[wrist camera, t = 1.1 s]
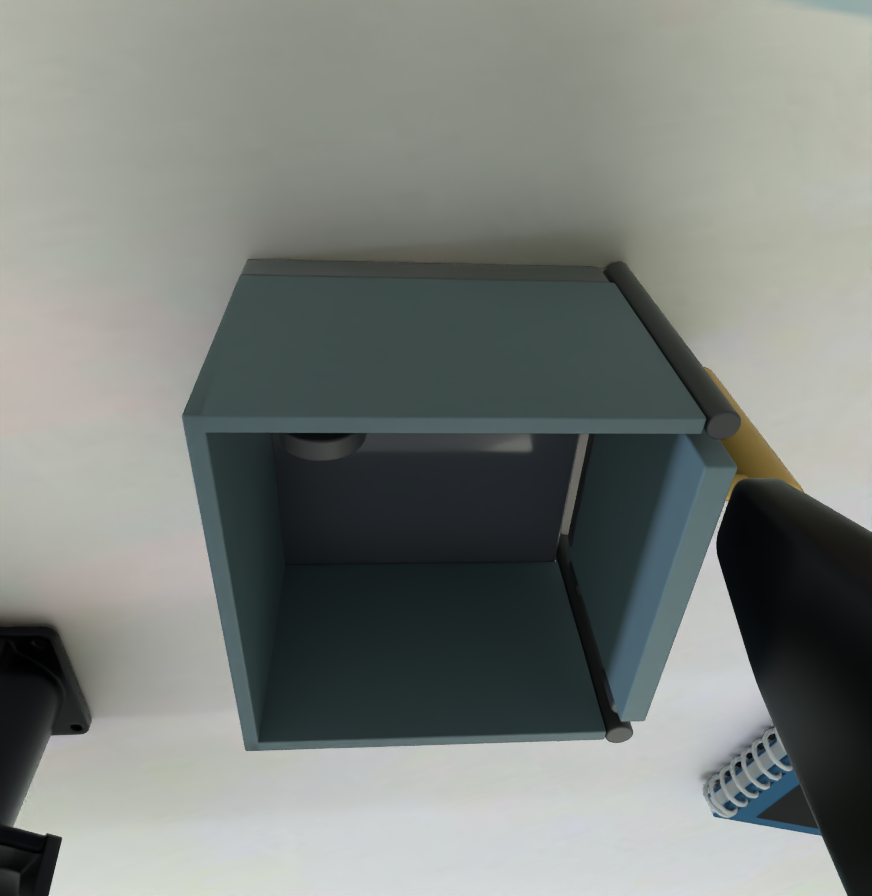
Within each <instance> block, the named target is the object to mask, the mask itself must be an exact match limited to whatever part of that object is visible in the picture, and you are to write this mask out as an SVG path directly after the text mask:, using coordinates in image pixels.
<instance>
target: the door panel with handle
mask: <svg viewBox="0 0 872 896" xmlns="http://www.w3.org/2000/svg"><path fill="white" fill-rule="evenodd" d="M703 368H704V369H705V370H706V372H707V373H708V374H709V376H710V377H711V378H712V380H713V381H714V382H715V384H716V385H717V386H718V388H719V389H720V390H721V392H722V393H723V394H724V396H725V397H726V398H727V400H728V401H729V402H730V403H731V405H732V406H733V407H734V409H735V410H736V411H737V413H738V414H739V416H740V418H741V425H740V428H739V430H738V431H737V432H736V433H735V434H734V435H733V436H731V437H729V438H727V439H724V440H716V439H713V438H711V437H709V436H708V435H707V433H706V432H705V430H704V429H703V431H702V433H701V434H589V438H588V443H587V447H586V452H585V457H584V462H583V467H582V471H581V476H580V481H579V486H578V491H577V495H576V500H575V505H574V510H573V515H572V519H571V524H570V529H569V534H568V545H567V549H568V552H569V555H570V559H571V561H570V562H569V570H570V574H571V577H572V580H573V584H574V587H575V590H576V592H577V593H578V594H579V595H582V598H583V601H584V604H585V607H586V611H587V614H588V617H589V620H590V624H591V627H592V630H593V633H594V637H595V640H596V643H597V646H598V650H599V653H600V656H601V659H602V663H603V666H604V668H603V669H602V670H601V677H602V680H603V684H604V687H605V690H606V694H607V697H608V700H609V704H610V707H611V709H612V710H613V711H614V712H615V713H618V715H619V718H620V721H622V722H625V721H644V720H645V718H646V716H647V713H648V710H649V708H650V705H651V702H652V699H653V697H654V694H655V691H656V688H657V686H658V683H659V680H660V678H661V675H662V672H663V669H664V667H665V664H666V661H667V658H668V656H669V653H670V650H671V648H672V645H673V642H674V639H675V637H676V634H677V631H678V628H679V626H680V623H681V620H682V618H683V615H684V612H685V609H686V607H687V604H688V601H689V598H690V596H691V593H692V590H693V588H694V585H695V582H696V579H697V577H698V574H699V571H700V568H701V566H702V563H703V560H704V558H705V555H706V552H707V549H708V547H709V544H710V541H711V538H712V536H713V533H714V530H715V528H716V525H717V522H718V519H719V517H720V514H721V511H722V508H723V506H724V503H725V501H729V499H730V496H731V493H732V490H733V488H734V486H735V485H736V484H737V482H739V481H740V480H743V479H747V478H777V479H781V480H783V481H785V482H786V483H788V484H790V485H791V486H793V487H795V488H797V489H798V490H800V491H802V492H803V493H804V491H803V489H802V488H801V486H800V485H799V484H798V482H797V481H796V480H795V479H794V477H793V476H792V475H791V473H790V472H789V471H788V469H787V468H786V467H785V466H784V464H783V463H782V462H781V460H780V459H779V458H778V456H777V455H776V454H775V452H774V451H773V450H772V449H771V447H770V446H769V445H768V443H767V442H766V441H765V439H764V438H763V437H762V436H761V434H760V433H759V432H758V430H757V429H756V428H755V426H754V425H753V424H752V422H751V421H750V420H749V419H748V417H747V416H746V415H745V413H744V412H743V411H742V409H741V408H740V407H739V406H738V404H737V403H736V402H735V400H734V399H733V398H732V396H731V395H730V394H729V392H728V391H727V390H726V389H725V387H724V386H723V385H722V383H721V382H720V381H719V379H718V378H717V377H716V376H715V374H714V373H713V372H712V371H711V370H710V369H708V368H706V367H703Z"/></svg>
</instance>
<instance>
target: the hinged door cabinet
mask: <svg viewBox="0 0 872 896" xmlns="http://www.w3.org/2000/svg"><path fill="white" fill-rule="evenodd" d="M605 276H606V277H607V279H608V280H609V282H610V283H595V282H545V281H494V280H443V279H393V278H342V277H291V276H240V277H239V279H238V281H237V284H236V286H235V289H234V291H233V294H232V296H231V298H230V301H229V303H228V306H227V308H226V311H225V313H224V315H223V318H222V320H221V323H220V325H219V327H218V330H217V332H216V335H215V337H214V340H213V342H212V344H211V347H210V349H209V352H208V354H207V357H206V359H205V361H204V364H203V366H202V369H201V371H200V374H199V376H198V378H197V381H196V383H195V386H194V388H193V391H192V393H191V395H190V398H189V400H188V403H187V405H186V408H185V410H184V412H183V415H182V420H183V425H184V430H185V435H186V441H187V446H188V451H189V456H190V462H191V467H192V472H193V477H194V483H195V488H196V493H197V498H198V504H199V509H200V514H201V519H202V525H203V530H204V535H205V540H206V546H207V551H208V556H209V561H210V567H211V572H212V577H213V582H214V588H215V593H216V598H217V603H218V609H219V614H220V619H221V624H222V630H223V635H224V640H225V645H226V651H227V656H228V661H229V666H230V672H231V677H232V682H233V687H234V693H235V698H236V703H237V708H238V714H239V719H240V724H241V729H242V735H243V740H244V745H245V750H246V751H262V750H292V749H323V748H354V747H385V746H415V745H446V744H477V743H508V742H538V741H569V740H600V739H604V738H606V739H607V740H608V741H609V742H613V743H620V742H624V741H626V740H628V739H630V738H631V737H632V735H633V730H632V726H631V723H630V721H625V722H622V721H620V718H619V715H618V713H615V712H614V711H613V710H612V709H611V707H610V704H609V700H608V697H607V694H606V690H605V687H604V684H603V680H602V677H601V670H602V669H603V668H604V666H603V663H602V659H601V656H600V653H599V650H598V646H597V643H596V640H595V637H594V633H593V630H592V627H591V624H590V620H589V617H588V614H587V611H586V607H585V604H584V601H583V598H582V595H579V594H578V593H577V592H576V590H575V587H574V584H573V580H572V577H571V574H570V570H569V562H570V561H571V559H570V555H569V552H568V549H567V545H568V536H567V535H560V537H559V542H558V547H557V552H556V557H555V561H556V562H498V563H415V564H333V565H285V559H284V549H283V540H282V531H281V521H280V512H279V502H278V493H277V483H276V474H275V464H274V455H273V445H272V436H271V433H279V440H280V443H281V444H282V446H283V447H284V449H285V450H286V451H288V452H289V453H290V454H292V455H294V456H296V457H299V458H302V459H306V460H313V461H328V460H335V459H339V458H343V457H345V456H348V455H350V454H352V453H354V452H355V451H357V450H358V449H359V448H360V447H361V446H362V445H363V443H364V441H365V439H366V434H367V433H578V434H701V433H702V431H703V429H704V430H705V432H706V433H707V435H708V436H709V437H711V438H713V439H716V440H724V439H727V438H729V437H731V436H733V435H734V434H735V433H736V432H737V431H738V430H739V428H740V425H741V418H740V416H739V414H738V413H737V411H736V410H735V409H734V407H733V406H732V405H731V403H730V402H729V401H728V400H727V398H726V397H725V396H724V394H723V393H722V392H721V390H720V389H719V388H718V386H717V385H716V384H715V382H714V381H713V380H712V378H711V377H710V376H709V374H708V373H707V372H706V370H705V369H704V368H703V366H702V365H701V364H700V362H699V361H698V360H697V358H696V357H695V356H694V354H693V353H692V352H691V350H690V349H689V348H688V346H687V345H686V344H685V342H684V341H683V340H682V338H681V337H680V336H679V334H678V333H677V332H676V330H675V329H674V328H673V326H672V325H671V324H670V322H669V321H668V320H667V318H666V317H665V316H664V314H663V313H662V312H661V310H660V309H659V308H658V307H657V305H656V304H655V303H654V301H653V300H652V299H651V297H650V296H649V295H648V293H647V292H646V291H645V289H644V288H643V287H642V285H641V284H640V283H639V281H638V280H637V279H636V277H635V276H634V275H633V273H632V272H631V271H630V269H629V268H628V267H627V265H626V264H625V263H623V262H614V263H612V264H610V265H609V266H608V267H607V268H606V270H605Z"/></svg>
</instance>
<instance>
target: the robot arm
mask: <svg viewBox="0 0 872 896" xmlns="http://www.w3.org/2000/svg"><path fill="white" fill-rule="evenodd" d="M716 548H717V555H718V559H719V563H720V566H721V569H722V573H723V576H724V579H725V582H726V586H727V589H728V592H729V596H730V599H731V602H732V606H733V609H734V612H735V615H736V619H737V622H738V625H739V629H740V632H741V635H742V638H743V642H744V645H745V648H746V652H747V655H748V658H749V661H750V664H751V667H752V670H753V673H754V676H755V679H756V682H757V685H758V687H759V690H760V692H761V695H762V697H763V700H764V702H765V704H766V707H767V709H768V711H769V714H770V716H771V718H772V721H773V723H774V725H775V728H776V730H777V732H778V735H779V737H780V739H781V742H782V744H783V746H784V749H785V751H786V753H787V756H788V758H789V760H790V763H791V765H792V767H793V770H794V772H795V774H796V777H797V779H798V781H799V784H800V786H801V788H802V791H803V793H804V795H805V798H806V800H807V802H808V805H809V807H810V809H811V812H812V814H813V816H814V819H815V821H816V823H817V826H818V828H819V830H820V833H821V835H822V837H823V840H824V842H825V844H826V847H827V849H828V851H829V854H830V856H831V858H832V861H833V863H834V865H835V868H836V870H837V872H838V875H839V877H840V879H841V882H842V884H843V886H844V889H845V891H846V893H847V896H872V532H871V531H869V530H867V529H865V528H864V527H862V526H860V525H859V524H857V523H855V522H853V521H852V520H850V519H848V518H846V517H845V516H843V515H841V514H840V513H838V512H836V511H834V510H833V509H831V508H829V507H828V506H826V505H824V504H822V503H821V502H819V501H817V500H816V499H814V498H812V497H810V496H809V495H807V494H805V493H803V492H802V491H800V490H798V489H797V488H795V487H793V486H791V485H790V484H788V483H786V482H785V481H783V480H781V479H777V478H747V479H743V480H740V481H739V482H737V484H736V485H735V486H734V488H733V490H732V493H731V496H730V499H729V502H728V505H727V508H726V511H725V514H724V517H723V520H722V522H721V525H720V528H719V531H718V535H717V542H716ZM91 722H92V720H91V717H90V714H89V711H88V709H87V706H86V704H85V701H84V699H83V696H82V694H81V691H80V689H79V686H78V684H77V681H76V678H75V676H74V673H73V671H72V668H71V666H70V663H69V661H68V658H67V656H66V653H65V650H64V648H63V645H62V643H61V640H60V638H59V635H58V634H57V632H56V631H54V630H53V629H51V628H48V627H0V896H48V895H49V891H50V886H51V882H52V878H53V874H54V870H55V866H56V862H57V857H58V853H59V849H60V845H61V841H62V837H59V836H56V835H52V834H48V833H47V834H46V835H45V836H44V835H40V834H36V833H33V832H29V831H25V830H21V829H17V828H14V827H13V826H14V823H15V821H16V818H17V816H18V813H19V811H20V809H21V806H22V804H23V801H24V799H25V796H26V794H27V792H28V789H29V787H30V784H31V782H32V779H33V777H34V775H35V772H36V770H37V767H38V765H39V762H40V760H41V758H42V755H43V753H44V750H45V748H46V745H47V743H48V741H49V738H50V736H51V735H75V734H84V733H86V732H87V731H88V730H89V727H90V724H91Z"/></svg>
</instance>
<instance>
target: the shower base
mask: <svg viewBox="0 0 872 896" xmlns="http://www.w3.org/2000/svg"><path fill="white" fill-rule="evenodd" d="M241 276H291V277H342V278H393V279H443V280H494V281H545V282H595V283H610V282H609V280H608V279H607V277H606V276H605V274H604V273H603V271H602V270H601V268H600V267H589V266H543V265H496V264H450V263H404V262H357V261H311V260H264V259H248V260H247V261H246V263H245V266H244V268H243V270H242V273H241ZM271 436H272V445H273V455H274V464H275V474H276V483H277V493H278V502H279V512H280V521H281V531H282V540H283V549H284V559H285V565H333V564H415V563H498V562H555V557H556V552H557V547H558V542H559V537H560V532H561V527H562V522H563V517H564V512H565V507H566V502H567V497H568V492H569V487H570V482H571V477H572V472H573V467H574V462H575V457H576V452H577V447H578V442H579V437H580V434H578V433H367V434H366V439H365V441H364V443H363V445H362V446H361V447H360V448H359V449H358V450H357V451H355V452H354V453H352V454H350V455H348V456H345V457H343V458H339V459H335V460H328V461H313V460H306V459H302V458H299V457H296V456H294V455H292V454H290V453H289V452H288V451H286V450H285V449H284V447H283V446H282V444H281V443H280V440H279V433H271Z"/></svg>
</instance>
